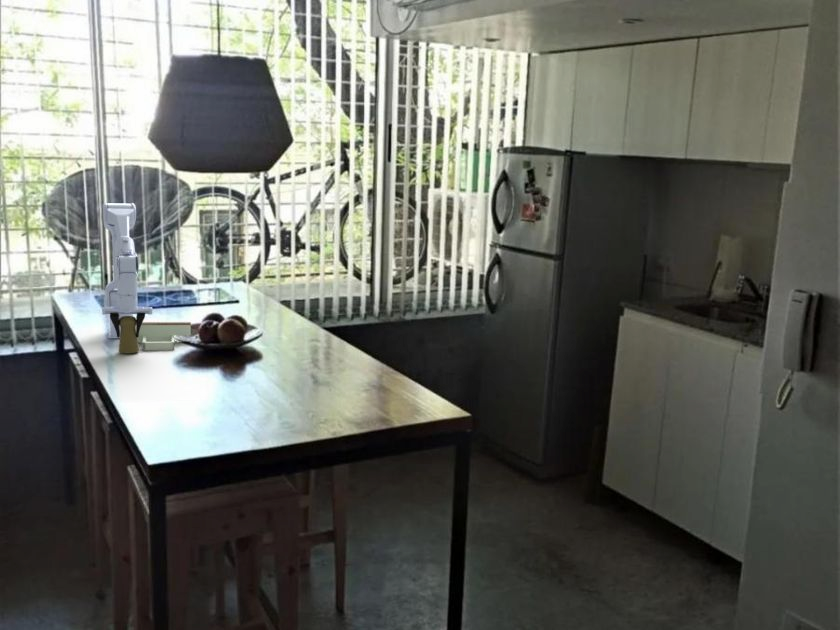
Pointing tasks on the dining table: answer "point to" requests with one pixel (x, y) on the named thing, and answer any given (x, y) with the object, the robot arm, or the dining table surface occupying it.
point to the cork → (128, 335)
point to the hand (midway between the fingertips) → (127, 336)
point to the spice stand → (161, 334)
